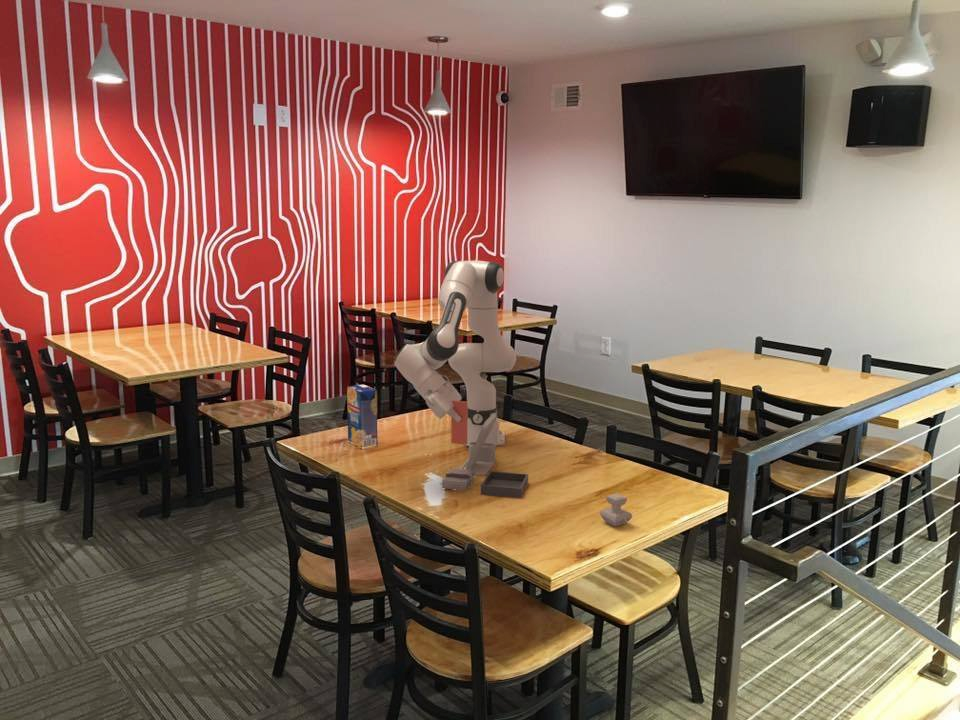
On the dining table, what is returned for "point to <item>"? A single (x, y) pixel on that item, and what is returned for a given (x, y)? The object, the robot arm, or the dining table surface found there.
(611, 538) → the dining table surface
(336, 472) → the dining table surface
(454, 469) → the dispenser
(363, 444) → the beverage box
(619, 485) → the dining table surface
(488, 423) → the phone holder
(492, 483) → the tray
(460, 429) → the ticket
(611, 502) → the stamp
